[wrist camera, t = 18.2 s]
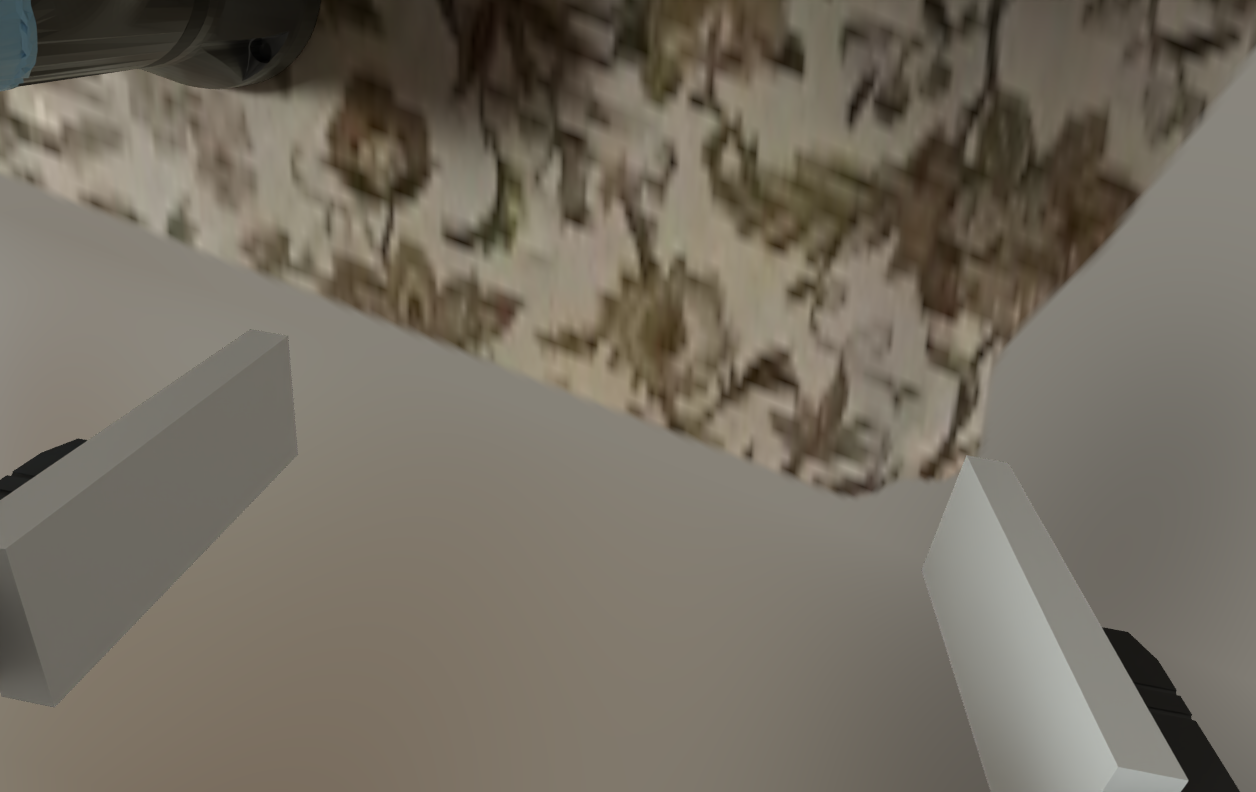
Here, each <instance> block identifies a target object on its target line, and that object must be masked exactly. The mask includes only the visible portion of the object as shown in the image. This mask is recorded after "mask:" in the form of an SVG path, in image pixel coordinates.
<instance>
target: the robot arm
mask: <svg viewBox="0 0 1256 792" xmlns="http://www.w3.org/2000/svg"><path fill="white" fill-rule="evenodd" d="M320 2H321V0H0V91H5V90H9V89H13V88H15V87H18V86H25V85H32V84H38V83H45V82H52V81H58V80H65V79H72V78H79V77H85V76H92V75H99V74H106V73H112V72H119V71H126V70H132V69H142V70H144V71H147V72H150V73H153V74H156V75H158V76H161V77H164V78H167V79H170V80H173V81H175V82H178V83H181V84H185V85H188V86H193V87H199V88H208V89H227V88H234V87H240V86H245V85H250V84H255V83H258V82H261V81H264V80H267V79H269V78H271V77H273V76H275V75H276V74H278V73H280V72H281V71H282V70H284V69H285V68H286V67H287V66H289V65H290V64H291V63H292V62H293V61H294V60H295V59H296V58H297V56H298V55H299V54H300V52H301V51H302V50H303V48H304V47H305V45H306V43H307V41H308V40H309V38H310V36H311V33H312V31H313V29H314V26H315V23H316V20H317V16H318V12H319V7H320ZM297 455H298V450H297V438H296V426H295V414H294V402H293V389H292V378H291V365H290V353H289V340H288V336H286V335H280V334H275V333H269V332H263V331H257V330H251V329H250V330H249V331H247V332H246V333H244V334H243V335H241V336H240V337H238V338H237V339H235V340H234V341H232V342H231V343H230V344H228V345H227V346H225V347H224V348H222V349H221V350H219V351H218V352H216V353H215V354H214V355H212V356H211V357H209V358H208V359H206V360H205V361H203V362H202V363H200V364H199V365H197V366H196V367H194V368H193V369H192V370H190V371H189V372H187V373H186V374H184V375H183V376H181V377H180V378H178V379H177V380H175V381H174V382H173V383H171V384H170V385H168V386H167V387H165V388H164V389H162V390H161V391H160V392H158V393H157V394H155V395H153V396H152V397H151V398H149V399H148V400H146V401H145V402H143V403H142V404H140V405H139V406H137V407H136V408H135V409H133V410H132V411H130V412H129V413H127V414H126V415H124V416H123V417H121V418H120V419H118V420H117V421H115V422H114V423H113V424H111V425H110V426H108V427H107V428H105V429H104V430H102V431H101V432H99V433H98V434H96V435H95V436H94V437H92V438H91V439H89V440H83V439H76V440H74V441H71V442H68V443H66V444H63V445H61V446H58V447H55V448H52V449H50V450H47V451H45V452H42V453H40V454H39V455H37V456H36V457H34V458H33V459H31V460H30V461H28V462H26V463H25V464H24V465H22V466H20V467H19V468H18V469H16V470H14V471H13V474H12V475H11V476H8V475H7V476H5V477H4V478H2V479H1V480H0V693H1V696H2V697H7V698H12V699H16V700H21V701H26V702H31V703H36V704H40V705H45V706H50V707H55V706H56V705H57V704H58V703H59V702H60V701H61V700H62V699H63V698H64V697H65V696H66V695H67V694H68V693H69V692H70V691H71V690H72V689H73V688H74V687H75V686H76V685H77V684H78V682H80V680H81V679H82V678H83V677H84V676H85V675H86V674H87V673H88V672H89V671H90V670H91V669H92V668H93V667H94V666H95V665H96V664H97V663H98V662H99V661H100V660H101V659H102V657H104V655H105V654H106V653H107V652H108V651H109V650H110V649H111V648H112V647H113V646H114V645H115V644H116V643H117V642H118V641H119V640H120V639H121V638H122V637H123V636H124V634H126V633H127V632H128V631H129V630H130V628H131V627H132V626H133V625H134V624H135V623H136V622H137V621H138V620H139V619H140V618H141V617H142V616H143V615H144V614H145V613H146V612H147V611H148V610H149V609H150V608H151V607H152V606H153V605H154V604H155V602H156V601H158V599H159V598H160V597H161V596H162V595H163V594H164V593H165V592H166V591H167V590H168V589H169V588H170V587H171V586H172V585H173V584H174V583H175V582H176V581H177V580H178V579H179V578H180V576H182V574H183V573H184V572H185V571H186V570H187V569H188V568H189V567H190V566H191V565H192V564H193V563H194V562H195V561H196V560H197V559H198V558H199V557H200V556H201V555H202V554H203V553H204V552H205V550H207V549H208V547H209V546H210V545H211V544H212V543H213V542H214V541H215V540H216V539H217V538H218V537H219V536H220V535H221V534H222V533H223V532H224V531H225V530H226V529H227V528H228V527H229V526H230V525H231V524H232V523H233V522H234V520H235V519H236V518H237V517H238V516H239V515H240V514H241V513H242V512H243V511H244V510H245V509H246V508H247V507H248V506H249V505H250V504H251V503H252V502H253V501H254V500H255V499H256V498H257V497H258V496H259V495H260V494H261V492H262V491H263V490H264V489H265V488H266V487H267V486H268V485H269V484H270V483H271V482H272V481H273V480H274V479H275V478H276V477H277V476H278V475H279V474H280V473H281V472H282V471H283V470H284V469H285V468H286V466H287V465H288V464H289V463H290V462H291V461H292V460H293V459H294V458H295V457H296V456H297ZM922 573H923V576H924V579H925V582H926V585H927V589H928V592H929V595H930V599H931V602H932V605H933V608H934V611H935V615H936V618H937V621H938V624H939V627H940V630H941V634H942V637H943V640H944V644H945V646H946V650H947V653H948V656H949V660H950V663H951V666H952V669H953V672H954V676H955V679H956V682H957V685H958V688H959V691H960V695H961V698H962V701H963V704H964V708H965V710H966V714H967V717H968V720H969V724H970V727H971V730H972V733H973V737H974V740H975V743H976V746H977V749H978V752H979V756H980V759H981V762H982V765H983V769H984V772H985V775H986V778H987V781H988V785H989V788H990V791H991V792H1240V791H1239V790H1238V788H1237V787H1236V785H1235V783H1234V781H1233V780H1232V778H1231V777H1230V775H1229V773H1228V772H1227V770H1226V769H1225V767H1224V765H1223V764H1222V762H1221V761H1220V759H1219V757H1218V756H1217V754H1216V752H1215V751H1214V749H1213V748H1212V746H1211V744H1210V743H1209V741H1208V740H1207V738H1206V736H1205V735H1204V733H1203V732H1202V730H1201V728H1200V727H1199V726H1198V724H1197V722H1196V721H1194V720H1192V719H1191V716H1192V714H1191V712H1190V711H1189V709H1188V708H1187V706H1186V705H1185V703H1184V701H1183V700H1182V698H1181V696H1177V695H1176V688H1175V687H1174V685H1173V684H1172V682H1171V680H1170V679H1169V677H1168V676H1167V674H1166V673H1165V671H1164V669H1163V668H1162V666H1161V664H1160V663H1159V661H1158V660H1157V659H1156V658H1155V657H1154V656H1153V655H1151V653H1150V652H1149V651H1147V650H1146V649H1145V648H1144V647H1143V646H1142V645H1141V644H1140V643H1139V642H1138V641H1137V640H1136V639H1135V638H1134V637H1133V636H1131V634H1129V633H1128V632H1125V631H1119V630H1114V629H1108V628H1103V627H1101V625H1100V624H1099V622H1098V620H1097V618H1096V617H1095V615H1094V613H1093V611H1092V609H1091V608H1090V606H1089V604H1088V602H1087V601H1086V599H1085V597H1084V595H1083V594H1082V592H1081V590H1080V588H1079V587H1078V585H1077V583H1076V581H1075V579H1074V578H1073V576H1072V574H1071V573H1070V571H1069V569H1068V567H1067V566H1066V564H1065V562H1064V560H1063V558H1062V557H1061V555H1060V553H1059V551H1058V549H1057V548H1056V546H1055V544H1054V542H1053V541H1052V539H1051V537H1050V535H1049V534H1048V532H1047V530H1046V528H1045V527H1044V525H1043V523H1042V522H1041V520H1040V518H1039V516H1038V514H1037V513H1036V511H1035V509H1034V507H1033V505H1032V504H1031V502H1030V500H1029V498H1028V497H1027V495H1026V493H1025V491H1024V490H1023V488H1022V486H1021V484H1020V483H1019V481H1018V479H1017V477H1016V475H1015V474H1014V472H1013V470H1012V468H1011V467H1010V465H1009V463H1006V462H1001V461H995V460H990V459H984V458H978V457H973V456H966V458H965V461H964V463H963V466H962V469H961V471H960V474H959V476H958V479H957V481H956V484H955V487H954V489H953V491H952V494H951V496H950V499H949V502H948V504H947V507H946V509H945V512H944V514H943V517H942V519H941V522H940V524H939V527H938V529H937V532H936V534H935V537H934V539H933V542H932V545H931V547H930V550H929V552H928V555H927V557H926V560H925V562H924V565H923V568H922Z"/></svg>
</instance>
